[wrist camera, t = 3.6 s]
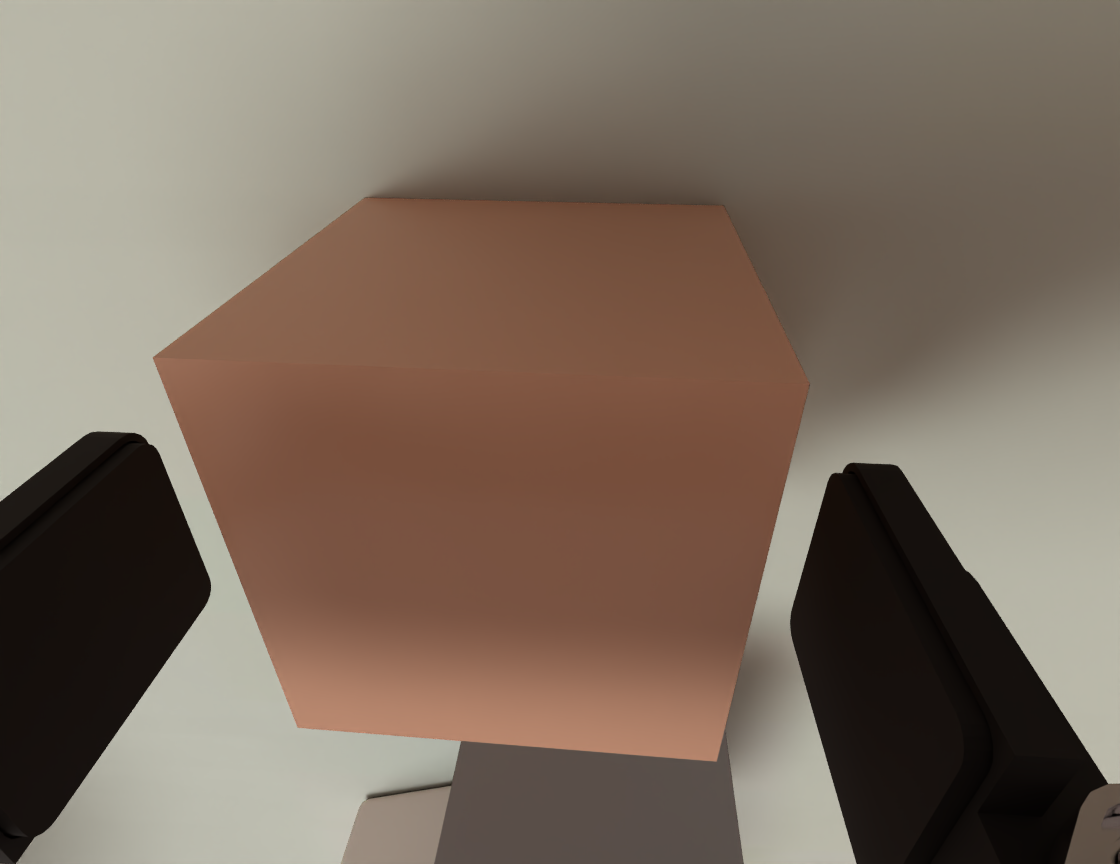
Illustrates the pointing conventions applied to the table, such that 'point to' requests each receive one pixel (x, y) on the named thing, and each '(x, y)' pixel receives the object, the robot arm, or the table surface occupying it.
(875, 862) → the robot arm
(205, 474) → the terracotta cube
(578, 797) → the slate cube
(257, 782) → the table surface
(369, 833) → the medicine bottle
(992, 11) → the table surface
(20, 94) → the table surface
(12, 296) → the table surface
